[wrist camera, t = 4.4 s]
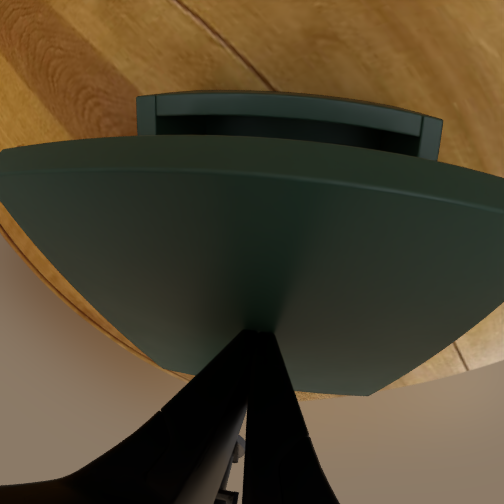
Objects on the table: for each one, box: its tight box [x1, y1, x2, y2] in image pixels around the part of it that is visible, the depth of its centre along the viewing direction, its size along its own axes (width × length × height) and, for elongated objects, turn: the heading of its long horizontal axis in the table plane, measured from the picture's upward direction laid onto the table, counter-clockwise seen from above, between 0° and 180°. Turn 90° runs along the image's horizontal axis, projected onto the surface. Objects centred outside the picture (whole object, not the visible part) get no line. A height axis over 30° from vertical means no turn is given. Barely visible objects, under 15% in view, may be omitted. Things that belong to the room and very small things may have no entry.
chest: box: [136, 90, 443, 161], centre depth 15 cm, size 13×11×7 cm
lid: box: [0, 135, 504, 396], centre depth 9 cm, size 13×11×1 cm
